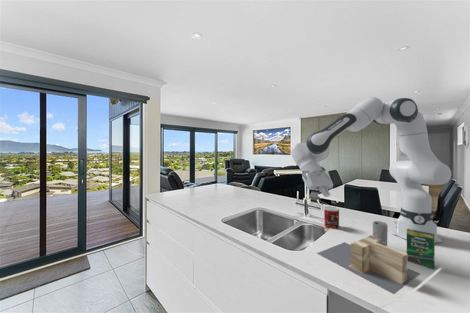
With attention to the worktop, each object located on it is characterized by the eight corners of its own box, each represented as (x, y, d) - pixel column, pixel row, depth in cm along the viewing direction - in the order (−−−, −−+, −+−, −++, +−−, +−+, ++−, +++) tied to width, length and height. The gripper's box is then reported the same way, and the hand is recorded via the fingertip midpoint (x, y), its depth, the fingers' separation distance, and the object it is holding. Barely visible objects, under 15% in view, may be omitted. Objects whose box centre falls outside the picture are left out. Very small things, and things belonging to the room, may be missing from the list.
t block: (370, 256, 82) (370, 235, 82) (413, 275, 70) (414, 250, 70) (350, 266, 75) (350, 243, 75) (394, 289, 63) (395, 261, 63)
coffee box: (405, 261, 80) (406, 229, 79) (407, 259, 82) (407, 227, 81) (433, 271, 73) (434, 236, 73) (434, 268, 75) (435, 234, 75)
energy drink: (373, 245, 93) (373, 220, 93) (387, 248, 90) (387, 222, 90) (371, 249, 89) (372, 223, 89) (386, 253, 86) (387, 226, 85)
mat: (344, 243, 95) (344, 242, 95) (420, 275, 71) (420, 273, 71) (316, 254, 86) (316, 253, 86) (393, 295, 61) (393, 294, 61)
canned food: (324, 228, 113) (325, 209, 113) (323, 223, 121) (323, 205, 120) (339, 230, 111) (340, 211, 110) (337, 225, 118) (338, 207, 118)
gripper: (305, 167, 91) (322, 193, 84) (326, 168, 104) (342, 191, 97) (295, 174, 94) (311, 201, 87) (316, 175, 108) (331, 198, 101)
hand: (327, 196), depth 92 cm, fingers closed
